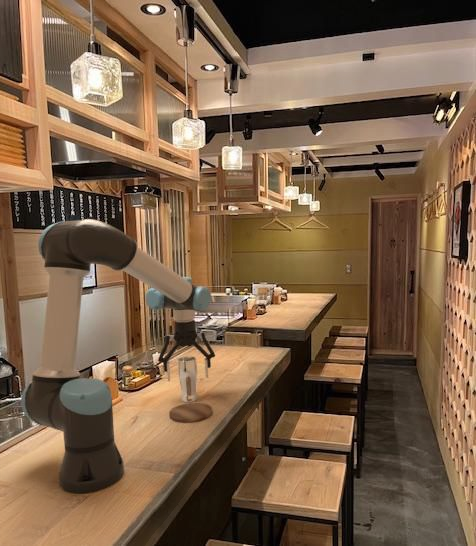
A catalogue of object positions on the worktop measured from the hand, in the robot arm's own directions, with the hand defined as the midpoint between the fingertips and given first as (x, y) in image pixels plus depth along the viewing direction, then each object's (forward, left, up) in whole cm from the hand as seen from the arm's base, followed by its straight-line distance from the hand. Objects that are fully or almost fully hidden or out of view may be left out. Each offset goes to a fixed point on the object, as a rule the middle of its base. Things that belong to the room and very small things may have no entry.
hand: (188, 378), depth 161 cm
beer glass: (0, 0, -8) cm, 8 cm away
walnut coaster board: (-10, -10, -8) cm, 16 cm away
